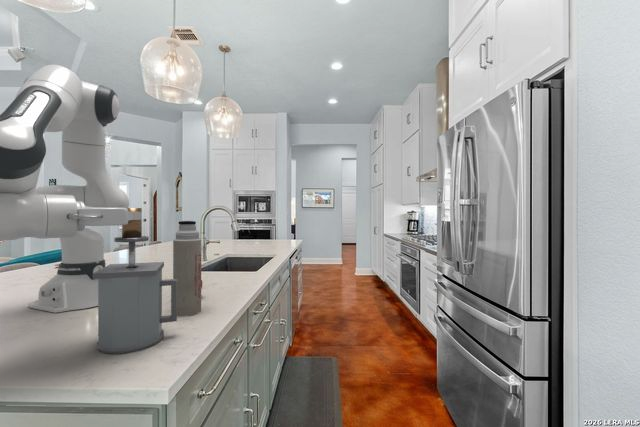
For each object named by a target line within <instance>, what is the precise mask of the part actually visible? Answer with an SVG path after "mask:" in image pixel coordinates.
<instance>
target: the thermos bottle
mask: <svg viewBox="0 0 640 427" xmlns="http://www.w3.org/2000/svg"><path fill="white" fill-rule="evenodd" d="M196 224H197V221H193V220H182V221H178V230H177V231H176V232H175V234H174V236H175V238H174V239H173V241H172V246H173V247H172V250H173V251H172V266H173V267H172V269H173V270H172V273H173V274H172V279H177V317H189V316H193V315H197V314H199V313H200V312H201V311H202V289H201V280H202V238H200V232H199V231H198V230H197V225H196Z"/></svg>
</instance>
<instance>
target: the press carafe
mask: <svg viewBox="0 0 640 427" xmlns="http://www.w3.org/2000/svg"><path fill="white" fill-rule="evenodd" d="M164 267H165V262H164V261H156V262H135V268H129V262H127V263H112V264H110V263H109V264H108V265H105V267H104V268H102V269H100V270H98V271H97V272H95V273H93V279H98V307H97V310H98V312H97V314H98V315H97V317H98V318H97V321H98V323H97V326H98V327H97V330H98V331H97V334H98V335H97V336H98V337H97V342H96V350H97V351H98V352H99V353H102V354H106V355H122V354H123V355H124V354H130V353H134V352H135V353H136V352H139V351H143V350H146V349H149V348H151V347H154V346H155V345H157V344H158V343H160V342H161V341H163V339H164V336H165V335H164V329H163V328H162V327H163V323H173V322H177V321H178V316H177V279H173V278H171V279H170V278H169V279H163V268H164ZM165 286H167V287H168V286H170V314H167V315H163V299H162V298H163V291H162V290H163V287H165Z"/></svg>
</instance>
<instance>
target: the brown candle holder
mask: <svg viewBox="0 0 640 427" xmlns="http://www.w3.org/2000/svg"><path fill="white" fill-rule="evenodd" d="M127 209H128V212H141V214H142V213H143V212H142V211H143V210H142V209H143V208H142V207H128V208H127ZM142 215H143V214H142ZM142 218H143V217H142ZM142 218H141V219H140V220H128V224H127V225H121V236H117V237H114V243H128V263H129V268H135V263H136V243H139V242H148V241H149V240H150V239H149V238H150V237H149V236H146V235H145V236H143V235H142V234H143V230H142V229H143V228H142V227H143V226H142V225H143V220H142Z"/></svg>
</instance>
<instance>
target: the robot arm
mask: <svg viewBox="0 0 640 427" xmlns="http://www.w3.org/2000/svg"><path fill="white" fill-rule="evenodd" d="M120 107H121V106H120V100H119V98H118V95H117V93H116V92H115V91H114V90H113V89H112V88H110V87H107V86H104V85H101V84H99V85H97V84H94V83H91V82H87V81H83V80H81V79H80V78H79V76H78V75H77V74H76V72H74V71H72V70H71V69H69V68H67V67H65V66H64V65H63V66H62V65H59V64H47V65H45V66H42V67H40V68H39V69H38V70H36V71H34V72H33V73H32V74H31V75H30V76H29V77H27V78H26V79H25V80H24V81H23V84H22V85H21V86H20V88H19V90H18V91H17V94H16V95H15V98H14V99H13V101H11V103H10V104H9V105H8V106H7V108H5V110H4V111H3V112H2V113H1V114H0V241H17V240H19V239H25V238H35V239H56V238H57V239H58V238H59V241H60V242H59V243H60V248H61V249H60V250H61V262H60V263H58V264H54V266H55V267H54V269H57V272H56V275H54V276H53V277H52V278H51V279H49V280H48V281H47V282H45V283H44V284H42V285H41V286H40V288H39V289H38V290H39V291H38V299H37V300H35V301H32V302H29V303H28V304H27V305H28V306H27V307H28V308H29V309H30V308H31V309H36V310H38V311H39V310H40V311H45V312H49V313H53V314H55V313H56V314H57V313H62V312H63V313H64V312H68V311H74V310H75V311H76V310H85V309H89V308H93V307H97V306H98V279H93V273H95V272H97V271H98V270H100V269H102V268H104V267H106V266H107V264H106V260H105V256H104V254H105V251H104V245H105V243H104V242H105V241H104V238H103V235H101V234H100V233H99V232H97V231H95V230H92V229H89V228H86V226H87V227H99V226H100V227H107V226H110V227H112V226H113V227H114V226H122V225H127V224H128V220H140V219H141V218H143V217H142V216H143V214H141V212H128V209H127V208H130V199H129V196H128V195H127V194H126V192H125V191H124V190H123V189H122V188H120V187H119V186H117V185H116V184H115V182H114V181H112V179H111V177H110V175H109V174H108V170H107V167H106V166H107V165H106V134H105V127H106V126H108V124H111V123H113V122H114V121H116V120H117V119H118V115H119V113H120ZM45 132H47V133H58V132H62V133H61V165H62V166H63V168H64V169H66V171H68V172H70V173H71V174H73V175H76V176H79V177H81V178H82V179H84V180H85V182H86V185H70V184H69V185H67V184H51V185H44V186H38V187H37V185H38V180H39V178H40V177H39V176H40V172H41V171H40V170H41V168H42V164H43V162H44V159H45V156H46V153H47V147H46V142H45V138H44V133H45Z"/></svg>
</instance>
